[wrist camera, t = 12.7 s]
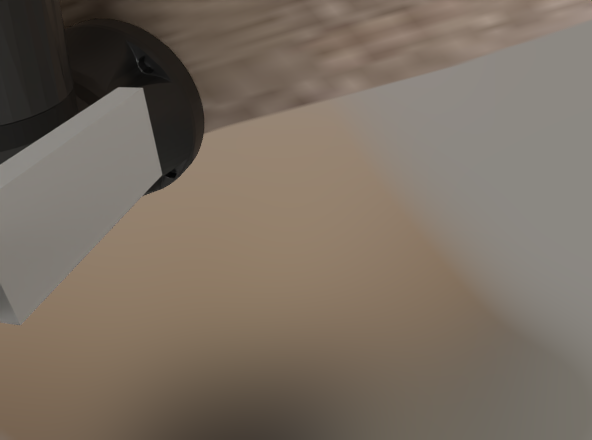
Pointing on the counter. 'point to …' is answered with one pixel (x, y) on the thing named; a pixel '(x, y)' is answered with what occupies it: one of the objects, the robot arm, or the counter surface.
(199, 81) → the counter surface
